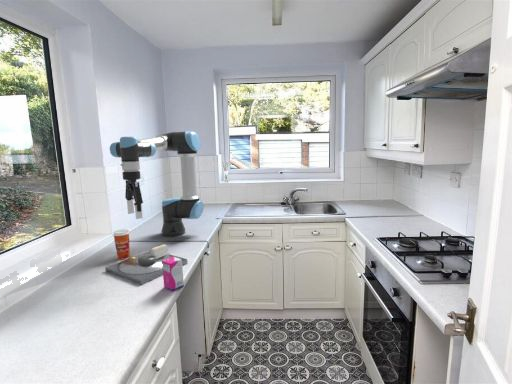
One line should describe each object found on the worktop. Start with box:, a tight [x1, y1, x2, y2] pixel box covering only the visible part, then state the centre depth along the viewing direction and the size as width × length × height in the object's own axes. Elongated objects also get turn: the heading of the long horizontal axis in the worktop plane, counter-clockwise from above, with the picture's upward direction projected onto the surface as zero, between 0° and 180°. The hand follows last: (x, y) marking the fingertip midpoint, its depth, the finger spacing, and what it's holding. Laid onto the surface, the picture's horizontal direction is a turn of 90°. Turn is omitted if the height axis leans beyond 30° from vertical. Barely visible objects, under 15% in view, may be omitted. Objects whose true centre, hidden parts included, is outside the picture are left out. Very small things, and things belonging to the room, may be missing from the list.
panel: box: [104, 250, 188, 286], centre depth 139 cm, size 26×26×3 cm
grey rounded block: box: [138, 243, 168, 266], centre depth 142 cm, size 15×8×6 cm, turn 147°
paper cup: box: [112, 228, 131, 260], centre depth 152 cm, size 8×8×14 cm
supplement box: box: [162, 257, 185, 292], centre depth 119 cm, size 6×6×12 cm
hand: (135, 215), depth 139 cm, fingers open, 13 cm apart
